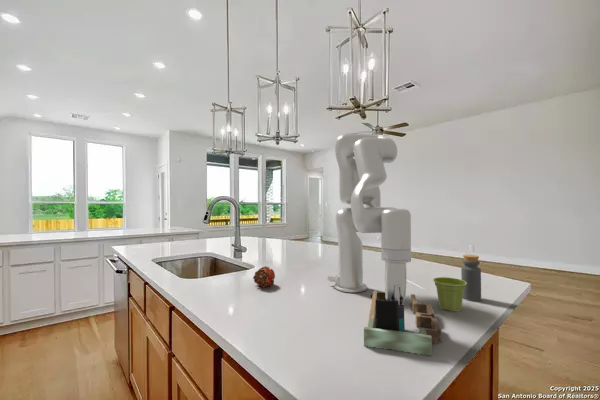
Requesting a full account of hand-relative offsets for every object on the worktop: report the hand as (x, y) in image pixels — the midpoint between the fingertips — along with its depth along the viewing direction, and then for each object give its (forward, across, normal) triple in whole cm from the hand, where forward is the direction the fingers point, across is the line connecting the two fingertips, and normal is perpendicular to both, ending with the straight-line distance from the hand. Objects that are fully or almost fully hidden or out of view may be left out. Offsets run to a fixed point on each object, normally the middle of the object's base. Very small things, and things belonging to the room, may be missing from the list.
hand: (396, 323), depth 75 cm
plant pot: (+2, -20, +17) cm, 26 cm away
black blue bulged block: (+2, +7, -2) cm, 7 cm away
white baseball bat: (+2, -39, +12) cm, 41 cm away
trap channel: (+1, -5, +1) cm, 5 cm away
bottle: (+2, -32, +26) cm, 41 cm away
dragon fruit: (+2, -26, -50) cm, 56 cm away
